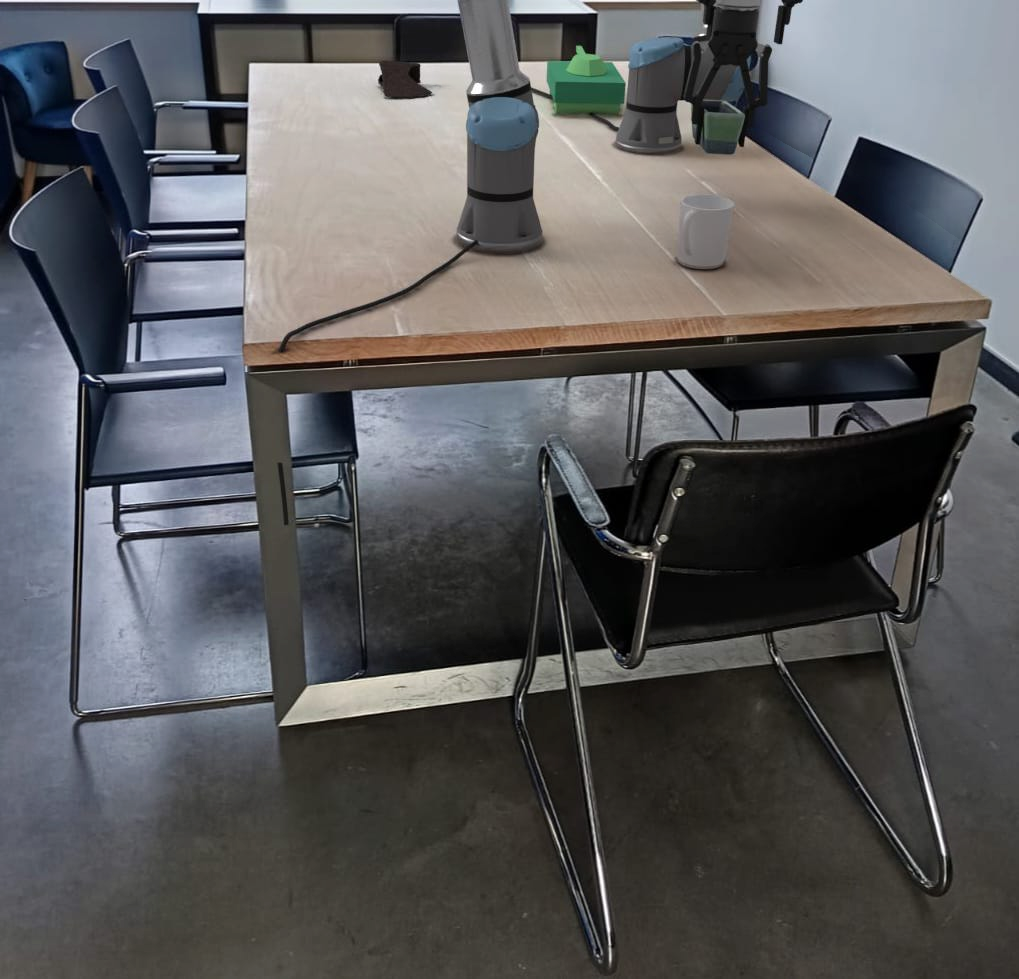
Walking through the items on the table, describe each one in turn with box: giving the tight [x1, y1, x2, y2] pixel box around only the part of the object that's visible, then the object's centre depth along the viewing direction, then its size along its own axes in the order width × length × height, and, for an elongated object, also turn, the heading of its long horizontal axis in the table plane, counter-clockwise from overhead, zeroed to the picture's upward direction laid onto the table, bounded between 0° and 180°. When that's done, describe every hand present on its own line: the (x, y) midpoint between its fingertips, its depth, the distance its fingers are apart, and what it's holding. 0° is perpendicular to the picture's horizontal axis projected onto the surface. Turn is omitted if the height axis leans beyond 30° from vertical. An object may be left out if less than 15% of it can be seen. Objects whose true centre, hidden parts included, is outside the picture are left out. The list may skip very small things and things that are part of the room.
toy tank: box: [546, 45, 627, 116], centre depth 289 cm, size 18×12×35 cm
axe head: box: [377, 59, 433, 99], centre depth 299 cm, size 18×8×15 cm
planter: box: [690, 100, 745, 156], centre depth 206 cm, size 28×7×7 cm, turn 177°
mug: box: [676, 193, 735, 270], centre depth 185 cm, size 11×9×10 cm
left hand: (719, 143), depth 198 cm, fingers closed on planter, 7 cm apart
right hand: (743, 43), depth 209 cm, fingers open, 13 cm apart
